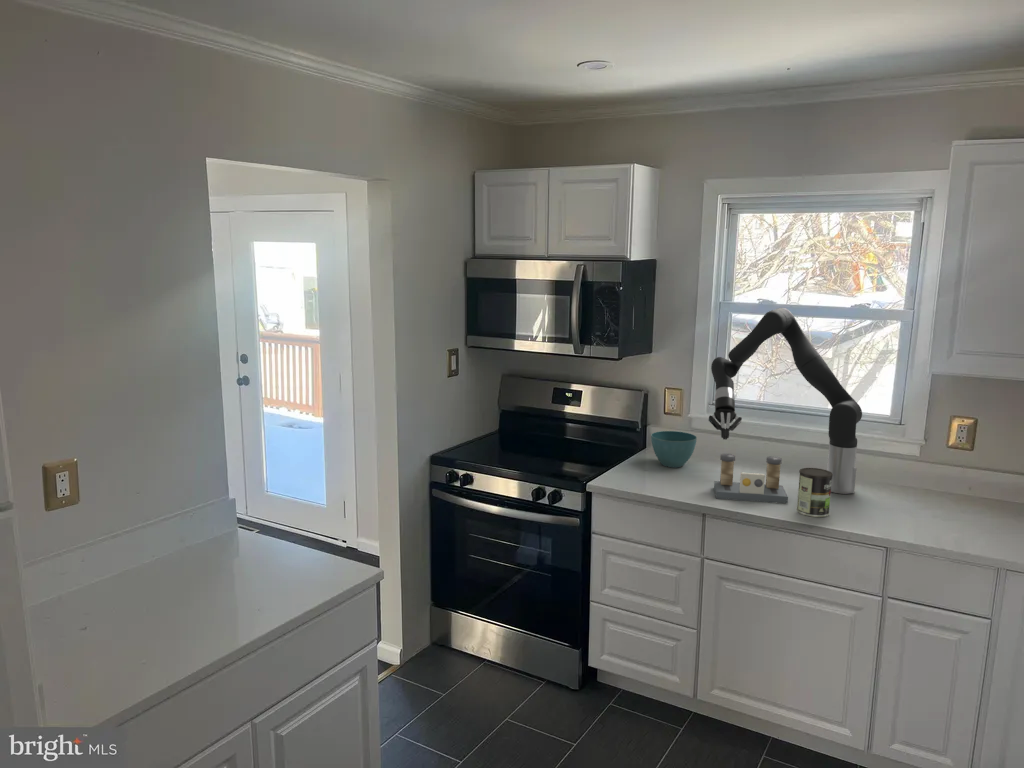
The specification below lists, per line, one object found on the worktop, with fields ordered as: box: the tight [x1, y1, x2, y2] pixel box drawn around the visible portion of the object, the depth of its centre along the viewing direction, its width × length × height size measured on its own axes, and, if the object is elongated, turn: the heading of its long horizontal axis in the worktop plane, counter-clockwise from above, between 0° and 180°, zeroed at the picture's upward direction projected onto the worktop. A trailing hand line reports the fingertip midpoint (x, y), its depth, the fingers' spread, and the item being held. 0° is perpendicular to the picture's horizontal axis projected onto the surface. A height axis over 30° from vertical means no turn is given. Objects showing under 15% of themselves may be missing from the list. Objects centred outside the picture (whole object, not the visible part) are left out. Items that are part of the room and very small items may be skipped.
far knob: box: [720, 453, 736, 485], centre depth 269 cm, size 5×5×11 cm
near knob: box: [765, 455, 783, 489], centre depth 265 cm, size 5×5×11 cm
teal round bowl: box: [650, 430, 698, 468], centre depth 302 cm, size 18×18×12 cm
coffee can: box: [796, 467, 833, 518], centre depth 247 cm, size 10×10×14 cm
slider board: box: [713, 471, 789, 504], centre depth 264 cm, size 24×13×10 cm, turn 78°
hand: (725, 438), depth 282 cm, fingers closed
